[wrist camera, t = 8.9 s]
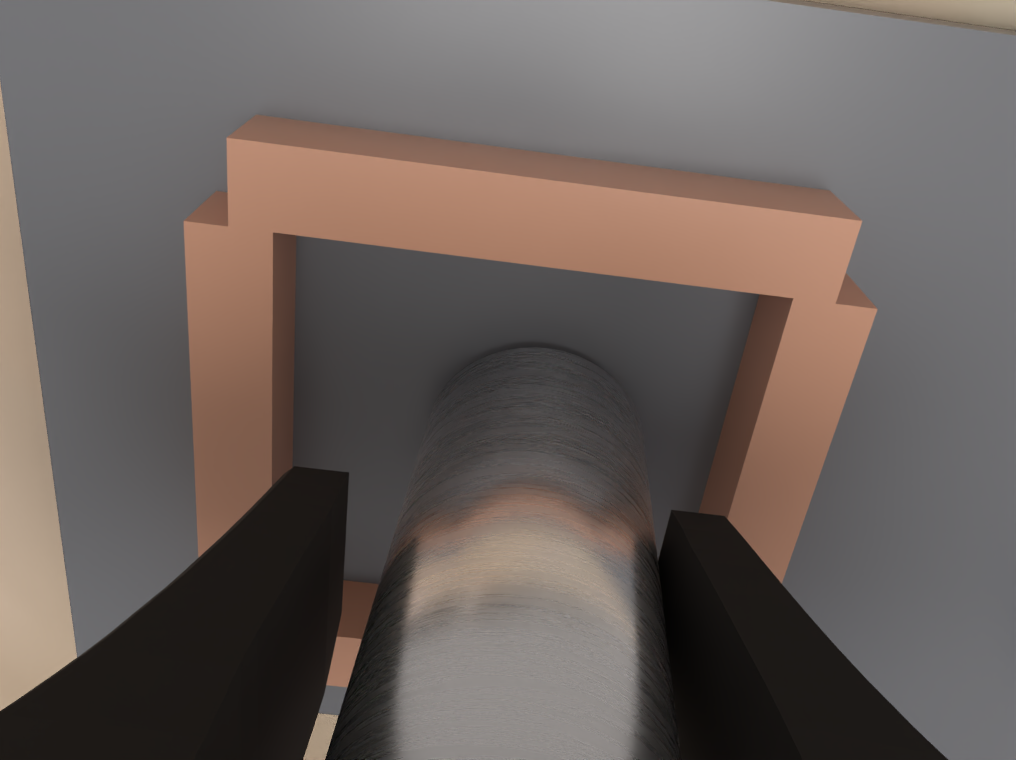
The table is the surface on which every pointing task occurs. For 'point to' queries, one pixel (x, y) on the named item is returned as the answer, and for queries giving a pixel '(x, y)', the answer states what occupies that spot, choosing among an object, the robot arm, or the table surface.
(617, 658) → the pin
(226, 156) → the dock board
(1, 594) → the table surface
